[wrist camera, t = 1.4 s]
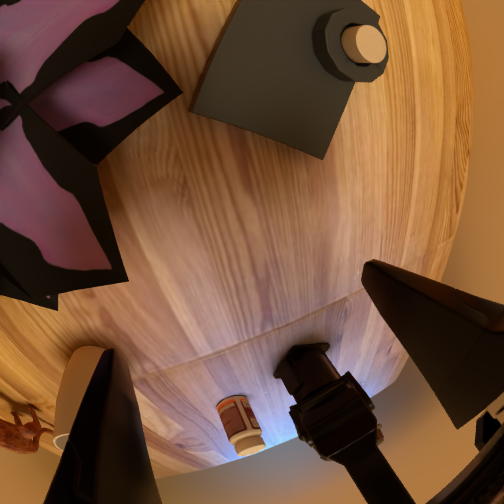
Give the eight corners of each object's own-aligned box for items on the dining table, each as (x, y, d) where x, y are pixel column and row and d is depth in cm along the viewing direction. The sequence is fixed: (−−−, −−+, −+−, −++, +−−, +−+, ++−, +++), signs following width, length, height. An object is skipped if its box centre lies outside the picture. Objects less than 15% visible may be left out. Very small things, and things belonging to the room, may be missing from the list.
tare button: (375, 41, 13) (390, 41, 12) (364, 69, 15) (380, 70, 13) (347, 19, 12) (363, 17, 11) (335, 49, 13) (350, 47, 12)
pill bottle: (214, 412, 36) (231, 459, 29) (219, 397, 34) (239, 449, 27) (243, 407, 38) (262, 452, 31) (250, 392, 36) (273, 441, 29)
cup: (82, 385, 24) (86, 464, 16) (44, 342, 20) (34, 434, 12) (143, 374, 26) (158, 457, 18) (112, 327, 22) (118, 429, 14)
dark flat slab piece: (375, 23, 15) (401, 21, 12) (321, 159, 20) (344, 170, 18) (265, -47, 10) (284, -62, 7) (187, 111, 15) (195, 113, 13)
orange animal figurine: (72, 427, 28) (82, 506, 17) (50, 432, 27) (56, 504, 17) (-21, 364, 17) (-34, 463, 6) (-36, 374, 16) (-48, 460, 6)
